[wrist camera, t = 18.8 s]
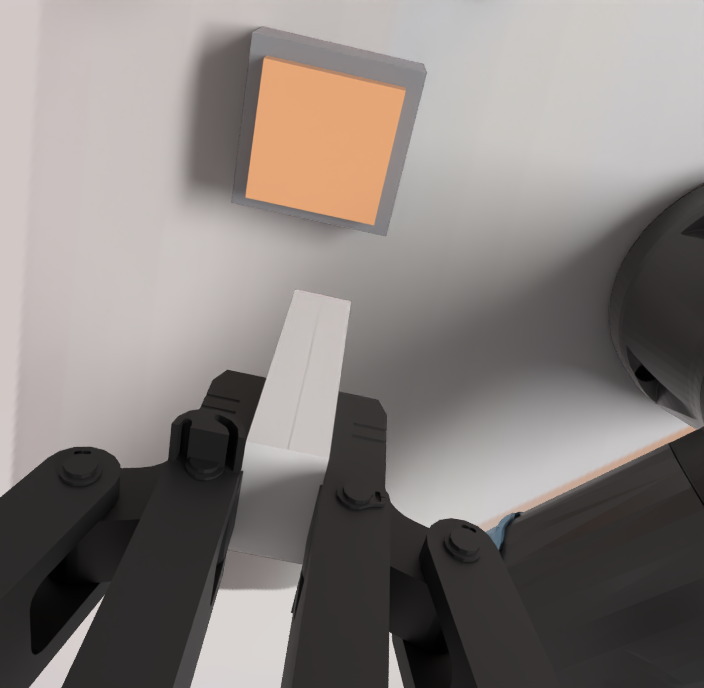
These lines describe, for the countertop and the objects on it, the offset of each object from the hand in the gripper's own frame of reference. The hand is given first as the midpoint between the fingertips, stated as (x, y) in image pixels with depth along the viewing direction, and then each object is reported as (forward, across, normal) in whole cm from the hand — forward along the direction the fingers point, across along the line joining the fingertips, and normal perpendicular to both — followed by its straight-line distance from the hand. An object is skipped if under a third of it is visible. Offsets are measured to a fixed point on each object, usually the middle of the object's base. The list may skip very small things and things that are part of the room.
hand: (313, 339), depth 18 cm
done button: (+19, +2, -1) cm, 19 cm away
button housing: (+20, +2, -2) cm, 20 cm away
